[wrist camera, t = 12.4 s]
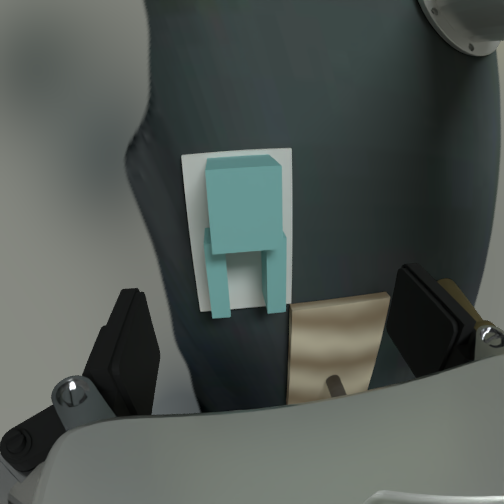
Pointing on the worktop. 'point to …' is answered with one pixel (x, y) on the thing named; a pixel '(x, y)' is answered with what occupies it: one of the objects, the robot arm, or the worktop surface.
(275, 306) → the link
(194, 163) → the mat
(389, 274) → the worktop surface
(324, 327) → the stand
